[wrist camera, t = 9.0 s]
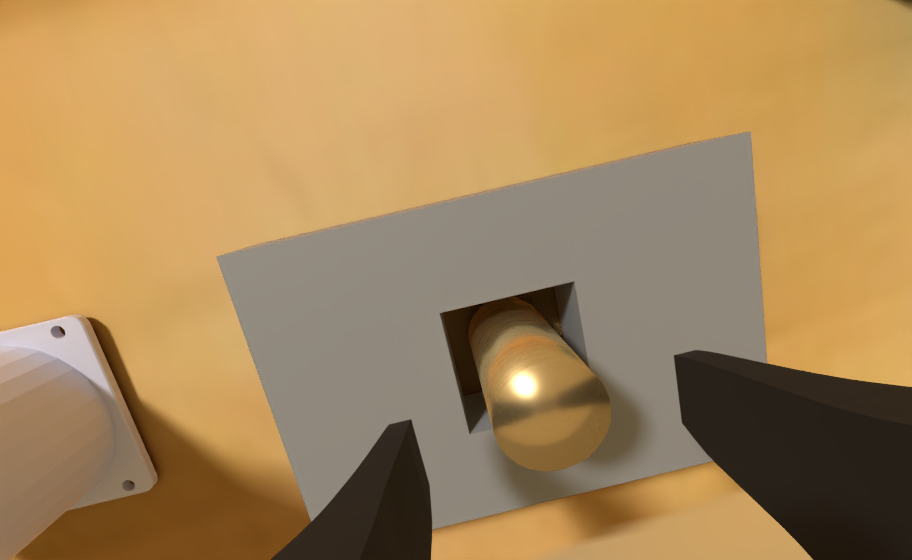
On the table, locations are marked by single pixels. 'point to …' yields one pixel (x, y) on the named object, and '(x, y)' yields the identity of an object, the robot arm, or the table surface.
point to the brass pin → (536, 388)
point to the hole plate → (495, 277)
